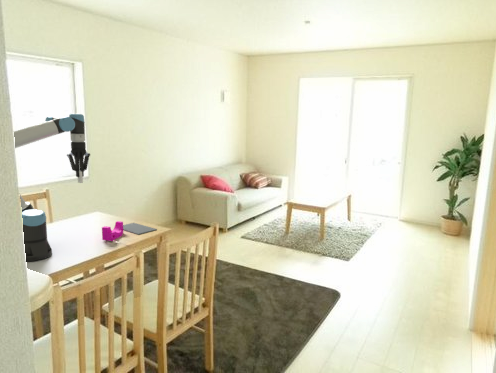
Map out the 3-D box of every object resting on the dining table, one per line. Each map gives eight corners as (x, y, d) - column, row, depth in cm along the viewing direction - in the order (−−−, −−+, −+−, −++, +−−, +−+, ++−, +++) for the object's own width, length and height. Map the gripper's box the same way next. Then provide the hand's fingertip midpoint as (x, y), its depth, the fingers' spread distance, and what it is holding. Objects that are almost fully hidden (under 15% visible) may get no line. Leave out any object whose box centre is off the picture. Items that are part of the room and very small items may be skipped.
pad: (138, 234, 221) (138, 233, 221) (115, 227, 236) (115, 226, 236) (156, 230, 232) (156, 229, 232) (133, 223, 247) (133, 222, 247)
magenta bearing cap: (111, 241, 209) (111, 228, 208) (102, 239, 211) (101, 227, 210) (126, 233, 224) (126, 222, 222) (118, 232, 225) (117, 221, 224)
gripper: (70, 141, 199) (72, 184, 203) (92, 141, 210) (94, 182, 213) (63, 141, 204) (65, 183, 207) (85, 141, 214) (87, 180, 218)
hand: (80, 182), depth 210 cm, fingers closed
